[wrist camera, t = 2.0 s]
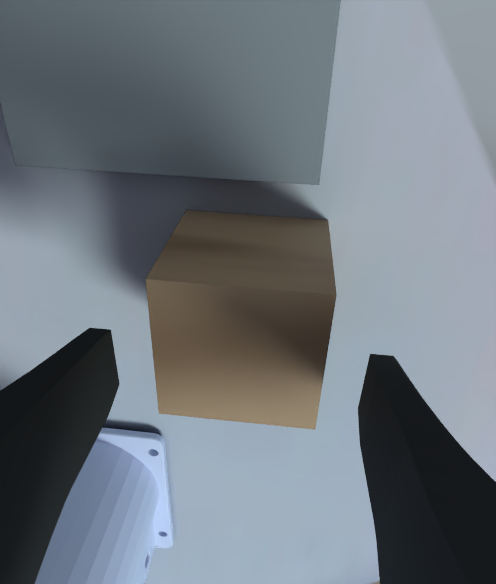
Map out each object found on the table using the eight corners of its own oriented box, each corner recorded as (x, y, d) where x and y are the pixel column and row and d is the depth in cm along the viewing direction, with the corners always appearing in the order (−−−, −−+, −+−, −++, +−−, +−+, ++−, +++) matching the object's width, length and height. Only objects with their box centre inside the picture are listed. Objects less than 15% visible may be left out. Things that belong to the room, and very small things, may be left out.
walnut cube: (312, 334, 19) (315, 429, 14) (191, 323, 19) (159, 413, 15) (328, 218, 16) (336, 294, 12) (186, 209, 16) (145, 278, 12)
